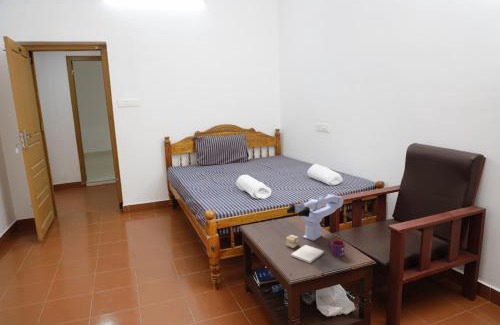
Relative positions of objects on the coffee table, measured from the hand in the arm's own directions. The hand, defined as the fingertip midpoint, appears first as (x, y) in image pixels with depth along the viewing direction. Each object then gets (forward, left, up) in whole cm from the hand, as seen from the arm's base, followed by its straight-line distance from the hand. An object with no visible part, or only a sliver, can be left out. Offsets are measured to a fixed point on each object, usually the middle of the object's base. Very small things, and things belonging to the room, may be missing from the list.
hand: (293, 212), depth 187 cm
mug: (-10, +21, -22) cm, 32 cm away
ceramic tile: (+1, +10, -22) cm, 24 cm away
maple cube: (-3, -3, -22) cm, 22 cm away
